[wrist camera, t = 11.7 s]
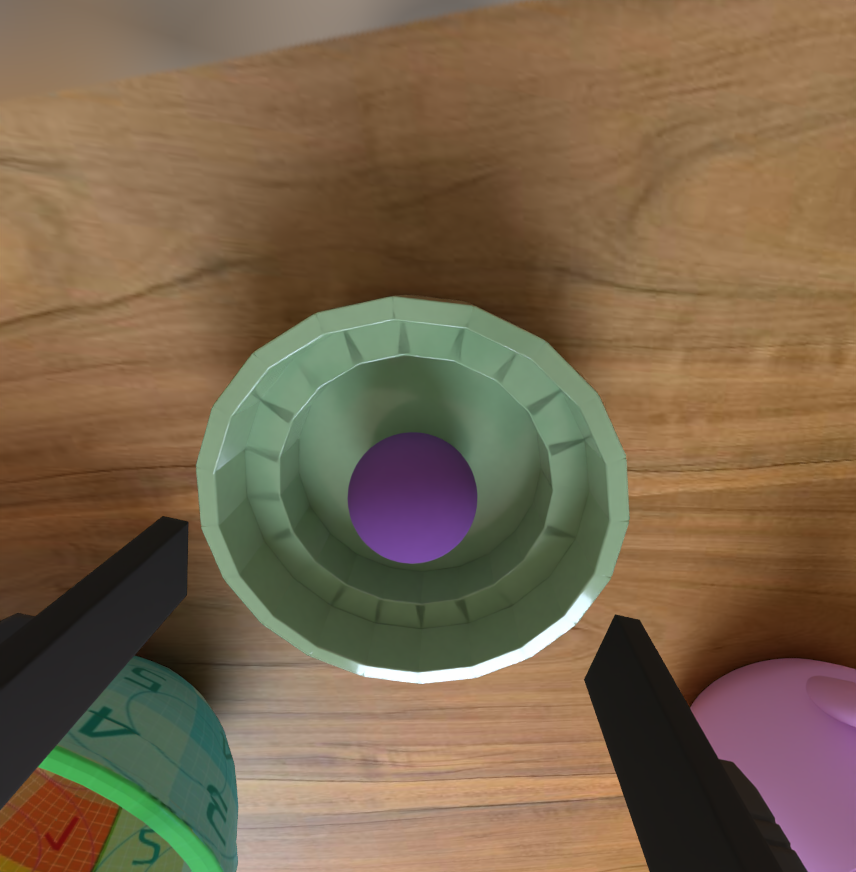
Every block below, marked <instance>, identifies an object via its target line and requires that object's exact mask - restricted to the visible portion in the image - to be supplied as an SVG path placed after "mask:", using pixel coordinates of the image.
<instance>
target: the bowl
mask: <svg viewBox="0 0 856 872" xmlns="http://www.w3.org/2000/svg"><path fill="white" fill-rule="evenodd" d="M237 819H238V797H237V785H236V775H235V765H234V761H233V758H232V755H231V751H230V748H229V745H228V742H227V738H226V735H225V732H224V729H223V727H222V726H221V724H220V722H219V720H218V718H217V716H216V715H215V713H214V712H213V710H212V709H211V707H210V705H209V704H208V703H207V701H206V700H205V699H204V697H203V696H202V695H201V694H200V693H199V692H198V691H197V690H196V689H195V688H194V687H193V686H192V685H191V684H190V683H189V682H187V681H186V680H185V679H184V678H182V677H181V676H179V675H178V674H177V673H175V672H174V671H172V670H171V669H169V668H167V667H165V666H163V665H160V664H157V663H155V662H153V661H150V660H147V659H144V658H141V657H138V656H133V658H132V659H131V660H130V661H129V662H128V663H127V665H126V666H125V667H124V668H123V669H122V670H121V671H120V673H119V674H118V675H117V676H116V677H115V678H114V680H113V681H112V682H111V683H110V684H109V685H108V687H107V688H106V689H105V690H104V691H103V692H102V693H101V695H100V696H99V697H98V698H97V699H96V700H95V702H94V703H93V704H92V705H91V706H90V707H89V708H88V710H87V711H86V712H85V713H84V714H83V715H82V717H81V718H80V719H79V720H78V721H77V722H76V723H75V725H74V726H73V727H72V728H71V729H70V730H69V732H68V733H67V734H66V735H65V736H64V737H63V739H62V740H61V741H60V742H59V743H58V744H57V745H56V747H55V748H54V749H53V750H52V751H51V752H50V754H49V755H48V756H47V757H46V758H45V759H44V760H43V762H42V763H41V764H40V765H39V766H38V767H37V769H36V770H35V771H34V772H33V773H32V774H31V775H30V777H29V778H28V779H27V780H26V781H25V782H24V784H23V785H22V786H21V787H20V788H19V789H18V790H17V792H16V793H15V794H14V795H13V796H12V797H11V799H10V800H9V801H8V802H7V803H6V804H5V806H4V807H3V808H2V809H1V810H0V872H236V870H237V865H238V856H237V844H236V836H237Z"/></svg>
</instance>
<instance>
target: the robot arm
mask: <svg viewBox="0 0 856 872" xmlns="http://www.w3.org/2000/svg"><path fill="white" fill-rule="evenodd" d="M187 565H188V522H187V521H183V520H178V519H173V518H169V517H164V516H163V517H161V518H160V519H159V520H157V521H156V522H155V523H154V524H152V525H151V526H150V527H149V528H147V529H146V530H145V531H143V532H142V533H141V534H140V535H138V536H137V537H136V538H135V539H133V540H132V541H131V542H129V543H128V544H127V545H126V546H124V547H123V548H122V549H121V550H119V551H118V552H117V553H115V554H114V555H113V556H112V557H110V558H109V559H108V560H107V561H105V562H104V563H103V564H101V565H100V566H99V567H98V568H96V569H95V570H94V571H93V572H91V573H90V574H89V575H87V576H86V577H85V578H84V579H82V580H81V581H80V582H79V583H77V584H76V585H75V586H73V587H72V588H71V589H70V590H68V591H67V592H66V593H65V594H63V595H62V596H61V597H60V598H58V599H57V600H56V601H54V602H53V603H52V604H51V605H49V606H48V607H47V608H46V609H44V610H43V611H42V612H40V613H39V614H38V615H37V616H30V615H25V614H21V613H16V614H14V615H12V616H10V617H8V618H6V619H4V620H2V621H0V810H1V809H2V808H3V807H4V806H5V804H6V803H7V802H8V801H9V800H10V799H11V797H12V796H13V795H14V794H15V793H16V792H17V790H18V789H19V788H20V787H21V786H22V785H23V784H24V782H25V781H26V780H27V779H28V778H29V777H30V775H31V774H32V773H33V772H34V771H35V770H36V769H37V767H38V766H39V765H40V764H41V763H42V762H43V760H44V759H45V758H46V757H47V756H48V755H49V754H50V752H51V751H52V750H53V749H54V748H55V747H56V745H57V744H58V743H59V742H60V741H61V740H62V739H63V737H64V736H65V735H66V734H67V733H68V732H69V730H70V729H71V728H72V727H73V726H74V725H75V723H76V722H77V721H78V720H79V719H80V718H81V717H82V715H83V714H84V713H85V712H86V711H87V710H88V708H89V707H90V706H91V705H92V704H93V703H94V702H95V700H96V699H97V698H98V697H99V696H100V695H101V693H102V692H103V691H104V690H105V689H106V688H107V687H108V685H109V684H110V683H111V682H112V681H113V680H114V678H115V677H116V676H117V675H118V674H119V673H120V671H121V670H122V669H123V668H124V667H125V666H126V665H127V663H128V662H129V661H130V660H131V659H132V658H133V656H134V655H135V654H136V653H137V652H138V651H139V650H140V648H141V647H142V646H143V645H144V644H145V643H146V641H147V640H148V639H149V638H150V637H151V636H152V635H153V633H154V632H155V631H156V630H157V629H158V628H159V626H160V625H161V624H162V623H163V622H164V621H165V620H166V618H167V617H168V616H169V615H170V614H171V613H172V611H173V610H174V609H175V608H176V607H177V606H178V604H179V603H180V602H181V601H182V600H183V599H184V598H185V596H186V595H187ZM584 681H585V683H586V686H587V689H588V692H589V695H590V698H591V701H592V704H593V707H594V710H595V713H596V716H597V719H598V722H599V724H600V727H601V730H602V733H603V736H604V739H605V742H606V745H607V748H608V751H609V754H610V757H611V760H612V763H613V766H614V768H615V771H616V774H617V777H618V780H619V783H620V786H621V789H622V792H623V795H624V798H625V801H626V804H627V807H628V809H629V812H630V815H631V818H632V821H633V824H634V827H635V830H636V833H637V836H638V839H639V842H640V845H641V848H642V850H643V853H644V856H645V859H646V862H647V865H648V868H649V871H650V872H808V871H807V869H806V868H805V866H804V865H803V863H802V861H801V860H800V858H799V856H798V855H797V853H796V852H795V850H792V849H791V846H790V845H791V843H790V842H789V840H788V838H787V837H786V835H785V834H784V832H783V830H782V829H781V827H780V825H779V824H776V822H775V817H774V816H773V814H772V812H771V811H770V809H769V807H768V806H767V804H766V803H765V801H764V799H763V798H762V796H761V794H760V793H759V791H758V790H757V788H756V787H755V786H754V785H753V784H752V783H751V781H750V780H749V779H748V778H747V777H746V776H745V775H744V774H743V772H742V771H741V770H740V769H739V768H738V767H737V766H736V764H735V763H734V762H731V761H727V760H722V759H719V758H718V757H717V755H716V753H715V751H714V750H713V748H712V746H711V744H710V743H709V741H708V739H707V737H706V736H705V734H704V732H703V730H702V729H701V727H700V725H699V723H698V722H697V720H696V718H695V716H694V715H693V713H692V711H691V709H690V707H689V706H688V704H687V702H686V700H685V699H684V697H683V695H682V693H681V692H680V690H679V688H678V686H677V685H676V683H675V681H674V679H673V678H672V676H671V674H670V672H669V671H668V669H667V667H666V665H665V664H664V662H663V660H662V658H661V657H660V655H659V653H658V651H657V650H656V648H655V646H654V644H653V643H652V641H651V639H650V637H649V636H648V634H647V632H646V630H645V629H644V627H643V625H642V623H641V622H640V620H638V619H633V618H629V617H624V616H620V615H615V616H614V618H613V620H612V622H611V624H610V626H609V629H608V631H607V633H606V635H605V637H604V639H603V641H602V643H601V645H600V647H599V650H598V652H597V654H596V656H595V658H594V660H593V662H592V664H591V666H590V668H589V670H588V673H587V675H586V677H585V679H584Z"/></svg>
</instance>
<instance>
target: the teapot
mask: <svg viewBox="0 0 856 872" xmlns="http://www.w3.org/2000/svg"><path fill="white" fill-rule="evenodd" d="M690 709H691V711H692V713H693V715H694V716H695V718H696V720H697V722H698V723H699V725H700V727H701V729H702V730H703V732H704V734H705V736H706V737H707V739H708V741H709V743H710V744H711V746H712V748H713V750H714V751H715V753H716V755H717V757H718V758H719V759H722V760H727V761H731V762H734V763H735V764H736V766H737V767H738V768H739V769H740V770H741V771H742V772H743V774H744V775H745V776H746V777H747V778H748V779H749V780H750V781H751V783H752V784H753V785H754V786H755V787H756V788H757V790H758V791H759V793H760V794H761V796H762V798H763V799H764V801H765V803H766V804H767V806H768V807H769V809H770V811H771V812H772V814H773V816H774V817H775V822H776V824H779V825H780V827H781V829H782V830H783V832H784V834H785V835H786V837H787V838H788V840H789V842H790V843H791V845H790V846H791V849H792V850H795V852H796V853H797V855H798V856H799V858H800V860H801V861H802V863H803V865H804V866H805V868H806V869H807V871H808V872H856V669H853V668H849V667H846V666H842V665H837V664H832V663H827V662H822V661H816V660H810V659H800V658H783V659H773V660H767V661H762V662H757V663H754V664H750V665H747V666H744V667H741V668H739V669H736V670H734V671H732V672H730V673H728V674H726V675H724V676H722V677H721V678H719V679H717V680H716V681H714V682H713V683H712V684H711V685H709V686H708V687H707V688H706V689H705V690H704V691H703V692H702V693H700V694H699V696H698V697H697V698H696V699H695V701H694V702H693V704H692V705H691V707H690Z"/></svg>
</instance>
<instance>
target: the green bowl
mask: <svg viewBox="0 0 856 872" xmlns="http://www.w3.org/2000/svg"><path fill="white" fill-rule="evenodd" d="M408 432H419V433H426V434H430V435H433V436H436V437H438V438H440V439H443V440H444V441H446V442H448V443H449V444H451V445H452V446H453V447H455V448H456V449H457V450H458V451H459V452H460V453H461V454H462V456H463V457H464V458H465V460H466V461H467V462H468V464H469V466H470V468H471V470H472V472H473V475H474V478H475V482H476V486H477V495H478V496H477V509H476V514H475V517H474V520H473V523H472V525H471V527H470V529H469V531H468V532H467V534H466V536H465V537H464V538H463V540H462V541H461V542H460V543H459V544H458V545H457V546H456V547H455V548H453V549H452V550H451V551H450V552H448V553H447V554H445V555H443V556H442V557H439V558H437V559H434V560H431V561H428V562H423V563H414V564H411V563H401V562H396V561H393V560H390V559H387V558H385V557H383V556H381V555H379V554H378V553H376V552H375V551H374V550H372V549H371V548H370V547H369V546H368V545H366V543H365V542H364V541H363V540H362V539H361V537H360V536H359V535H358V533H357V531H356V529H355V527H354V526H353V524H352V521H351V518H350V514H349V509H348V499H347V497H348V487H349V482H350V478H351V476H352V473H353V471H354V468H355V467H356V465H357V463H358V462H359V460H360V459H361V458H362V456H363V455H364V454H365V453H366V452H367V451H368V450H369V449H370V448H371V447H372V446H374V445H375V444H377V443H378V442H380V441H381V440H383V439H385V438H387V437H390V436H392V435H396V434H400V433H408ZM196 474H197V485H198V497H199V509H200V521H201V525H202V526H201V529H202V531H203V533H204V535H205V538H206V540H207V542H208V545H209V547H210V549H211V551H212V554H213V556H214V558H215V561H216V563H217V565H218V567H219V570H220V572H221V574H222V577H223V579H225V581H226V583H227V584H228V585H229V586H230V587H231V589H232V590H233V591H234V592H235V593H236V594H237V596H238V597H239V598H240V599H241V600H242V601H243V603H244V604H245V605H246V606H247V607H248V609H249V610H250V611H251V612H252V613H253V614H254V616H255V617H256V618H257V619H258V620H259V621H260V623H262V624H263V625H264V626H266V627H267V628H269V629H270V630H271V631H273V632H274V633H276V634H277V635H279V636H280V637H282V638H283V639H284V640H286V641H287V642H289V643H290V644H292V645H293V646H295V647H296V648H297V649H299V650H300V651H302V652H303V653H305V654H306V655H308V656H309V655H310V657H313V658H315V659H318V660H321V661H323V662H326V663H328V664H331V665H334V666H336V667H339V668H342V669H344V670H347V671H350V672H352V673H355V674H358V675H360V676H362V675H363V676H364V677H370V678H378V679H386V680H394V681H401V682H409V683H417V684H419V683H420V684H425V683H434V682H443V681H452V680H462V679H471V678H476V677H480V676H483V675H486V674H488V673H491V672H494V671H496V670H499V669H502V668H504V667H507V666H510V665H513V664H515V663H518V662H521V661H523V660H526V659H529V658H531V657H532V656H534V655H535V654H536V653H538V652H539V651H541V650H542V649H543V648H545V647H546V646H548V645H549V644H550V643H552V642H553V641H555V640H556V639H557V638H559V637H560V636H561V635H563V634H564V633H566V632H567V631H568V630H570V629H571V628H573V627H574V626H575V625H576V623H578V622H579V620H580V619H581V618H582V616H583V615H584V614H585V612H586V611H587V610H588V608H589V607H590V606H591V604H592V603H593V602H594V600H595V599H596V598H597V596H598V595H599V594H600V593H601V591H602V590H603V589H604V587H605V586H606V585H607V583H608V582H609V581H610V579H611V576H612V574H613V571H614V568H615V565H616V562H617V559H618V555H619V552H620V549H621V546H622V543H623V540H624V537H625V533H626V530H627V527H628V524H629V519H630V517H629V498H628V479H627V460H626V454H625V452H624V450H623V447H622V445H621V443H620V441H619V439H618V436H617V434H616V432H615V430H614V427H613V425H612V423H611V421H610V418H609V416H608V414H607V412H606V409H605V407H604V405H603V403H602V401H601V398H600V396H599V395H598V393H597V392H596V391H595V390H594V389H593V388H592V387H591V386H590V385H589V384H588V383H587V382H586V381H585V380H584V379H583V378H582V377H581V376H580V375H579V374H578V373H577V372H576V371H575V370H574V368H573V367H572V366H571V365H570V364H569V363H568V362H567V361H566V360H565V359H564V358H563V357H562V356H561V355H560V354H559V353H558V352H557V351H556V350H555V349H554V348H553V347H552V346H551V345H550V344H549V343H548V342H547V341H545V340H544V339H542V338H540V337H538V336H536V335H534V334H533V333H531V332H529V331H527V330H525V329H523V328H521V327H519V326H517V325H515V324H513V323H511V322H509V321H507V320H505V319H503V318H500V317H498V316H496V315H494V314H492V313H490V312H488V311H486V310H484V309H482V308H480V307H478V306H476V305H474V304H472V303H469V302H466V301H459V300H451V299H442V298H434V297H426V296H417V295H397V296H389V297H385V298H380V299H375V300H371V301H366V302H362V303H357V304H352V305H348V306H343V307H339V308H334V309H330V310H325V311H320V312H317V313H315V314H313V315H311V316H309V317H308V318H306V319H305V320H303V321H301V322H300V323H298V324H297V325H295V326H293V327H292V328H290V329H289V330H287V331H286V332H284V333H282V334H281V335H279V336H278V337H276V338H274V339H273V340H271V341H270V342H268V343H267V344H265V345H263V346H262V347H260V348H259V349H257V350H255V352H254V353H252V354H251V355H250V357H249V358H248V359H247V361H246V362H245V363H244V365H243V366H242V367H241V369H240V370H239V371H238V373H237V374H236V375H235V377H234V378H233V379H232V381H231V382H230V383H229V385H228V386H227V387H226V389H225V390H224V391H223V393H222V394H221V395H220V397H219V398H218V399H217V401H216V402H215V403H214V405H213V407H212V409H211V413H210V417H209V420H208V424H207V427H206V431H205V435H204V438H203V442H202V445H201V449H200V452H199V456H198V460H197V463H196Z"/></svg>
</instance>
